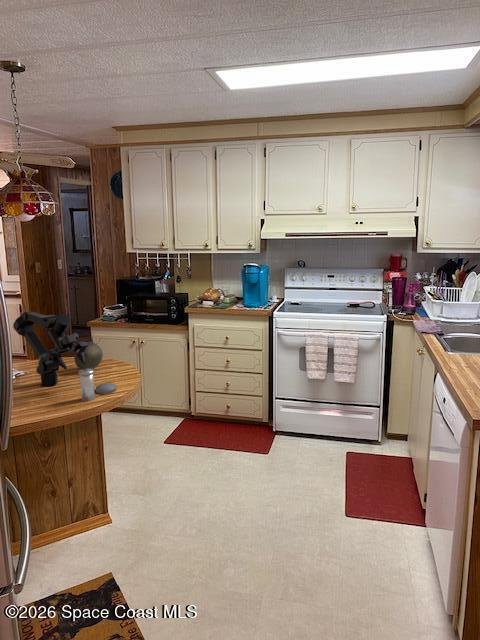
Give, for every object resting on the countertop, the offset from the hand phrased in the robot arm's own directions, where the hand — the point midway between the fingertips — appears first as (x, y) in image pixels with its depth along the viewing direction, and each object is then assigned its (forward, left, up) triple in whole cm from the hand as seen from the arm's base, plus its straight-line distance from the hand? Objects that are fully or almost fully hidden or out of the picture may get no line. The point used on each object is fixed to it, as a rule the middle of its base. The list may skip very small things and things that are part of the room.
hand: (75, 366), depth 207 cm
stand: (+11, +5, -13) cm, 18 cm away
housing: (+6, -5, -14) cm, 16 cm away
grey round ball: (-6, +36, -14) cm, 39 cm away
